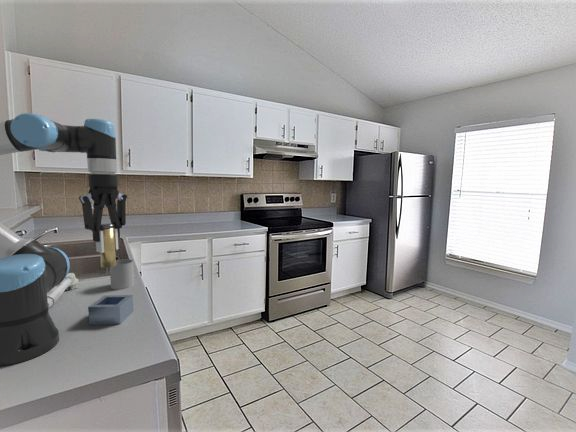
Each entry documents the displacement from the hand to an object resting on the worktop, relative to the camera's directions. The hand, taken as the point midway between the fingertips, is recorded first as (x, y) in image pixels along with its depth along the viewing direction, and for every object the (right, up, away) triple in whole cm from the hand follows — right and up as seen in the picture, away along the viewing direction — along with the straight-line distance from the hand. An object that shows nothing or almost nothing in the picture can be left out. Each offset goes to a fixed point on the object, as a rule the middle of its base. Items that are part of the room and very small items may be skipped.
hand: (107, 250), depth 93 cm
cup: (-12, -18, +30) cm, 37 cm away
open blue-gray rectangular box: (0, -21, +2) cm, 22 cm away
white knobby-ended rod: (-28, -20, +18) cm, 39 cm away
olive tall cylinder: (0, -5, +1) cm, 5 cm away
